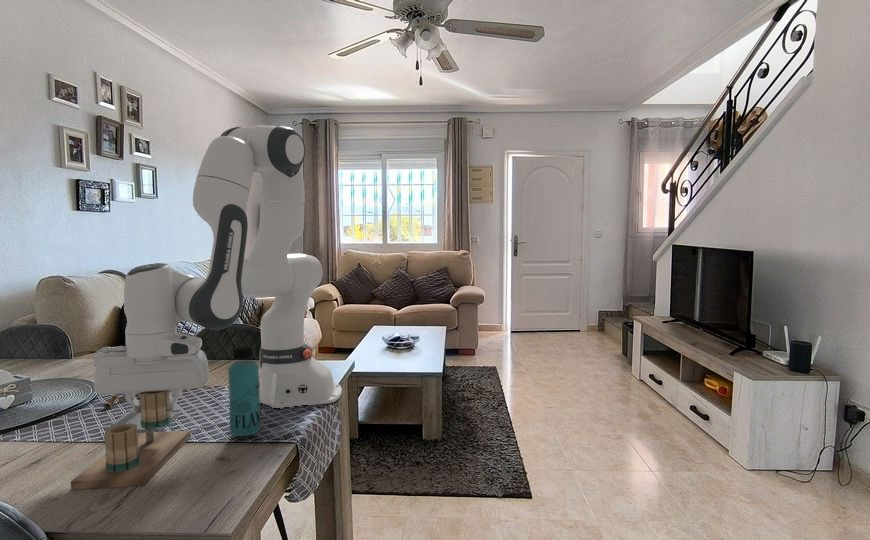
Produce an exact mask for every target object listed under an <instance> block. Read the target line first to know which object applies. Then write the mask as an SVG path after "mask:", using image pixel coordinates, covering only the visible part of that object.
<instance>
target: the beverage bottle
mask: <svg viewBox="0 0 870 540" xmlns="http://www.w3.org/2000/svg"><path fill="white" fill-rule="evenodd" d="M252 357H254V351H253V347H252V346H251V345H241V346H240V345H239V346H236V347H234V348H233V349H232V359H236V361H234V362H233V363H232V364H231V365H230V366H229V367H228V368H227V372H228V390H229V391H228V392H229V395H228V396H229V397H228V398H229V410H228V412H229V418H228V419H229V420H228V421H229V431H230V433H231V435H232V436H236V437H237V436H238V437H244V436H250V435H252V434H255V433H257V432H258V431H260V429H261V425H262V422H261V418H262V413H261V405H262V404H261V403H260V397H259V392H260V391H259V388H260V376H259V368H260V367H259V364H257V363H256V362H255V361H253V360H250V359H249V358H252ZM247 359H248V360H247ZM237 360H238V361H237Z"/></svg>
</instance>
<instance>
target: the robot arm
mask: <svg viewBox="0 0 870 540" xmlns="http://www.w3.org/2000/svg"><path fill="white" fill-rule="evenodd" d="M305 145H306V144H305V142H304V139H303V138H302V135H300V133H299V132H298V131H297V130H296V129H295V128H291V127H288V126H284V125H277V126H275V125H266V124H258V125H253V126H252V125H251V126H243V127H242V126H236V127H232V128H228V129H226V130H224V131H223V132H222V133H221V135H220V136H217V137H216V138H214V139H212V141H211V142H210V144H209V145H208V147H207V149H206V151H205V154H204V156H203V158H202V161H201V162H200V166H199V169H198V172H197V176H196V178H195V183H194V187H193V192H192V206H193V209H194V211H195V212H196V213H197V215H198V216H199V217H200V219H202V220H203V221H204V222H206V223H207V224H208V226H209V227H210V229H211V231H212V237H213V241H212V242H213V244H212V249H211V256H210V260H209V261H210V263H209V269H208V273H207V276H206V277H205V278H204V277H197V276H194V275H190V274H186V273H185V272H182V271H179V270H178V269H175V268H173V267H172V266H171V265H169V263H163V262H159V263H158V262H156V263H149V264H144V265H143V264H142V265H140V266H139V265H138V266H136V267H134V268H132V269H131V270H129V271H128V272H127V274H126V276H125V278H124V286H123V287H124V288H123V310H124V311H123V312H124V314H125V317H126V326H125V330H124V332H125V333H124V335H125V345H120V346H119V345H118V346H103V347H101V349H98V350H96V351H95V352H94V354H93V366H94V368H95V371H94V379H93V389H94V391H95V393H97V395H99V396H102V395H114V394H121V395H122V394H124V393H125V399H126V400H125V401H127V403H129V405H130V406H131V410H132V413H133V414H137V413H141V405H140V401H139V400H138V399H137V398H136V395H137V394H138V393H140V392H149V391H163V390H169V391H171V394H172V396H173V398H172V399H169V401H168V402H167V407H168V408H167V411H170V412H176V410H177V409H178V400H179V398H180V396H181V395H182V393H183V390H188V389H189V390H192V389H203V388H204V387H205V386H206V385H207V383H208V382H209V380H210V369H209V363H208V358H207V355H206V353H205V352H204V351H203V350H202V349H201V348H202V346H203V341H202V338H201V337H198V336H194V335H189V334H185V333H182V332H178V331H177V324H178V323H179V322H188V323H191V324H194V325H198V326H200V327H201V328H204V329H207V330H210V331H220V330H225V329H226V328H229V327H230V326H232V325H233V324H234V323H235V322H236V321H237V319H238V318H239V317H240V315H241V313H242V311H243V307H244V297H243V296H245V297H250V298H269V297H274V300H273V303H272V304H271V306H270V307H269V309H268V310H266V312H265V313H263V315H262V316H261V318H260V340H261V341H260V343H261V345H260V348H259V353H258V355H259V357H258V358H259V365H260V367H259V368H261V369H260V378H259V383H260V385H259V386H260V388H259V391H260V392H259V397H260V404H261V403H263V404H262V405H265V404H266V406H268V405H269V407H270V406H271V407H272V408H271V407H270V408H271V409H273V408H280V409H285V408H284V407H289V408H295V407H294V406H299V407H302V406H301V405H308V406H315V405H316V406H317V405H326V404H332V403H335V402H336V401H338V400H339V399H340V398H341V396H342V394H343V389H342V385H340V384H338V383H336V382H335V381H334V377H333V374H332V371H331V369H330V368H329V367H328V366H326V365H324V364H322V363H321V362H320V361H318V360H317V359H316V358H314V357H312V356H313V350H312V349H313V347H312V344H310V345H308V344H306V343H305V315H306V310H307V307H308V304H309V300H310V298H311V296H312V294H313V293H314V290H316V288H317V287H318V286H319V285H320V283H321V282H322V279H323V274H324V273H323V266H322V264H321V262H320V261H319V259H318V258H317V257H315V256H314V255H309V254H305V253H299V252H296V253H294V252H293V253H289V251H290V250H291V249H290V248H291V246H292V245H293V243H294V241H296V240H297V239H299V238H300V237H301V236H302V235H303V233H304V229H305V207H306V206H305V199H306V194H305V181H304V174H303V169H302V166H303V164H304V161H305V157H306V146H305ZM254 173H259V174H260V176H261V179H262V182H261V187H260V189H261V191H260V209H259V223H258V224H259V227H258V231H257V235H256V238H255V241H254V242H253V245H252V247H251V249H250V250H249V252H248V253H247V254H246V255H245V253H246V247H247V246H246V245H247V238H248V225H249V224H248V223H249V222H248V221H249V220H248V217H247V207H248V202H249V201H248V200H249V196H250V192H251V187H252V181H253V174H254ZM334 382H335V383H334Z"/></svg>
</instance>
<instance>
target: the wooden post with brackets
mask: <svg viewBox="0 0 870 540" xmlns="http://www.w3.org/2000/svg"><path fill="white" fill-rule="evenodd" d="M121 395H122V393H121V394H112V396H111V398H110V399H108V401H107V402H103V403H102V406H103V408H104V409H113V407H112V406H113V404H114V403H115V401H116V400H118V403H119V404H120V403H124V401H127V400H126V399H125V393H123V396H121ZM119 397H120V398H119ZM118 398H119V399H118Z"/></svg>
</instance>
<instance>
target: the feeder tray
mask: <svg viewBox="0 0 870 540" xmlns="http://www.w3.org/2000/svg"><path fill="white" fill-rule="evenodd" d="M170 415H171V422H170V423H169V424H167V425H166V426H163V427H161V428H158V427H157V429H153V432H163V430H164V429H165V428H167V427H168V426H169V425H170V424H171V423H173V421H175V420H176V419H177V418H178V417H179V412H178V411H170ZM122 424H136V425H137V433H144V432H146V431H145V429H144V428H141V413H137V414H133V413H132V409H131V410H129V411H128V412H126V413H125V414H123V415H122V416H120V417H119V418H118V419H116V420H114V421H113V422H112V423H110V428H111V427H114V426H118V425H122Z"/></svg>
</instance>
